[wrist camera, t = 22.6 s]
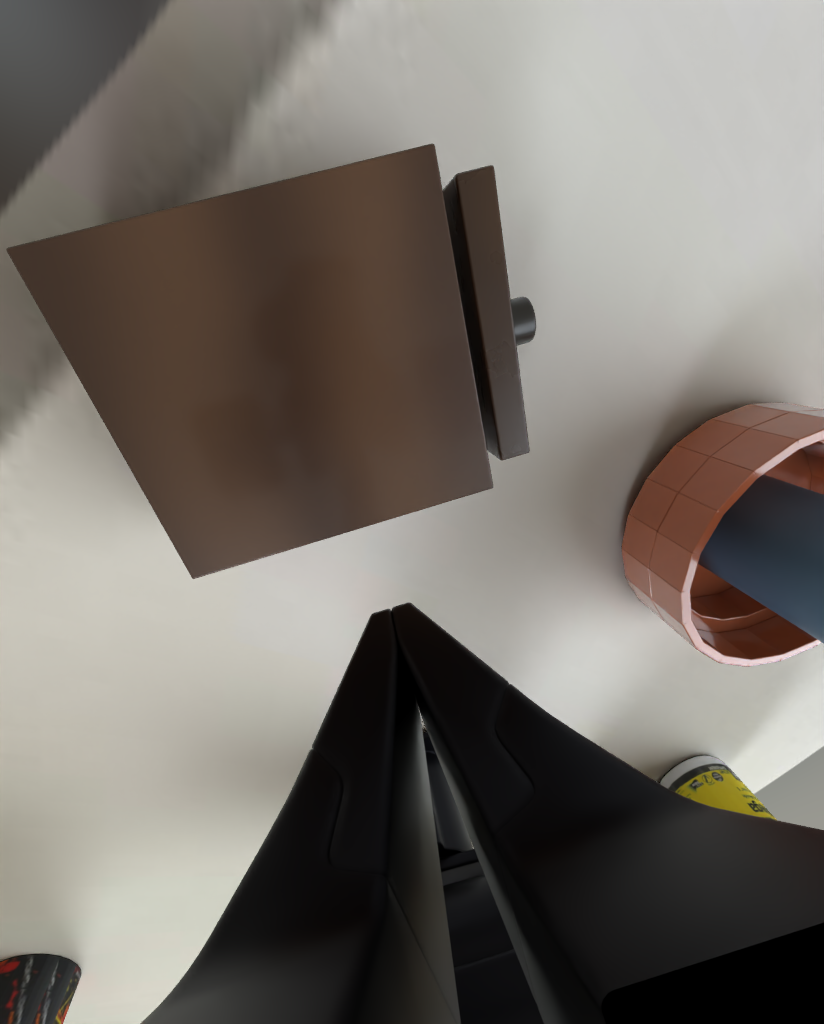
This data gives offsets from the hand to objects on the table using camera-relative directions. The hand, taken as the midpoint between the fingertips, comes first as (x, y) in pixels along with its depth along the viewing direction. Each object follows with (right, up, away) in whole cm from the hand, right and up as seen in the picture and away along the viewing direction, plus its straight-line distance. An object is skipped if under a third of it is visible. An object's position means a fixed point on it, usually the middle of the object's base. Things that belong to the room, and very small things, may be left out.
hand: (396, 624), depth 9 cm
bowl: (+18, +2, +16) cm, 24 cm away
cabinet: (-4, +8, +9) cm, 12 cm away
